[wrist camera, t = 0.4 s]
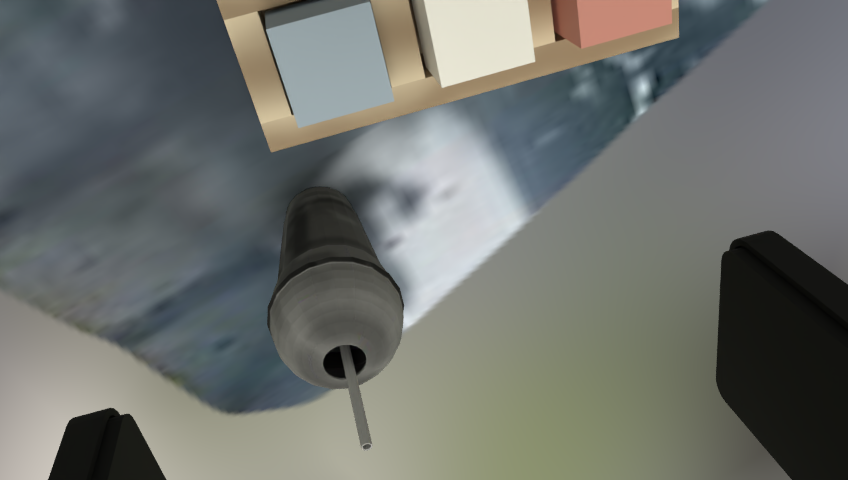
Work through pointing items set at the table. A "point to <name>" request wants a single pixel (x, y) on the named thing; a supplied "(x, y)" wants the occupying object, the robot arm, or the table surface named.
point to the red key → (607, 19)
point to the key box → (400, 65)
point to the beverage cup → (333, 300)
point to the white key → (473, 37)
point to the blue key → (328, 58)
